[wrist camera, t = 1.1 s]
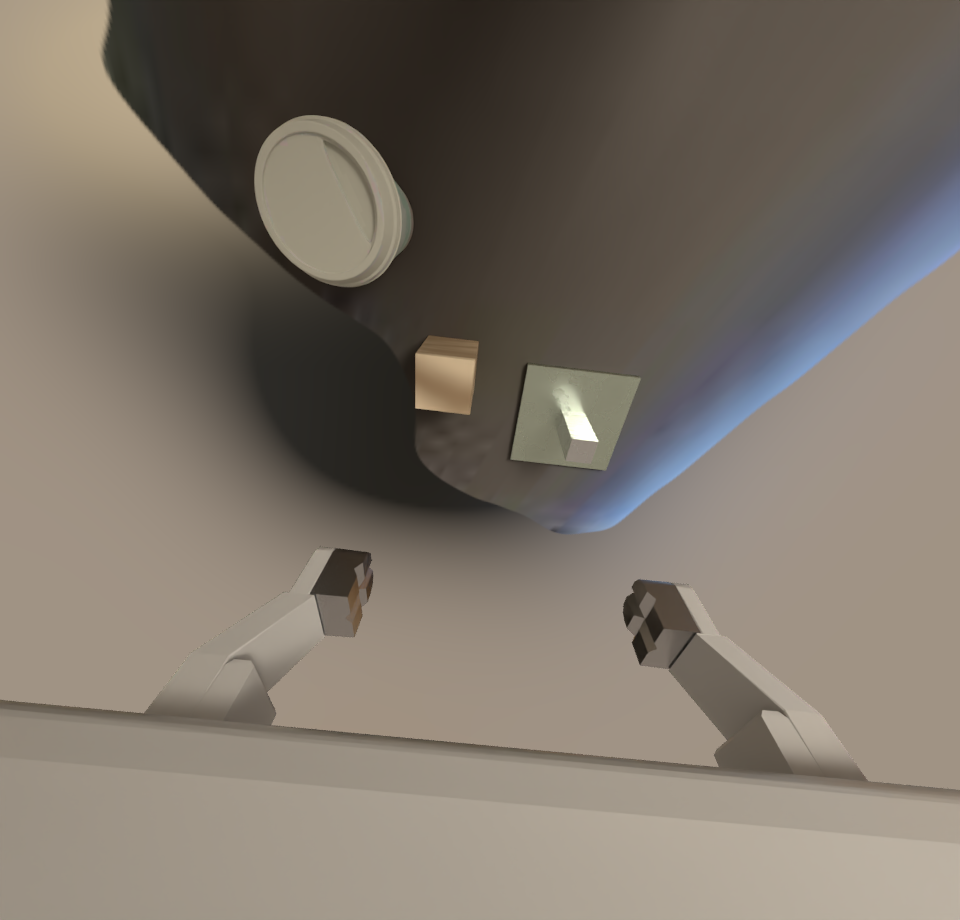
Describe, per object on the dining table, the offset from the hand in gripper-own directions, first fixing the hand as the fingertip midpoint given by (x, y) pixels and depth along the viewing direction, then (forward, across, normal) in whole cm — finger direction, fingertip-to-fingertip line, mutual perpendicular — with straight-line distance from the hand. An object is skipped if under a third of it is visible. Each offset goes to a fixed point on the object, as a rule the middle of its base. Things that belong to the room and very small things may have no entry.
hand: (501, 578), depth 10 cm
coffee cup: (+29, +12, -10) cm, 33 cm away
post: (+29, -9, +7) cm, 32 cm away
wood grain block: (+29, +5, +2) cm, 30 cm away
